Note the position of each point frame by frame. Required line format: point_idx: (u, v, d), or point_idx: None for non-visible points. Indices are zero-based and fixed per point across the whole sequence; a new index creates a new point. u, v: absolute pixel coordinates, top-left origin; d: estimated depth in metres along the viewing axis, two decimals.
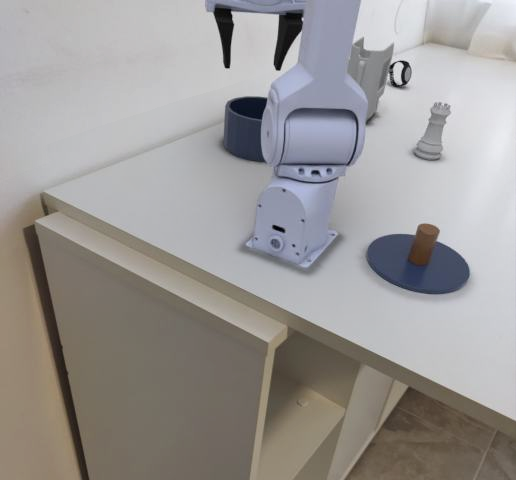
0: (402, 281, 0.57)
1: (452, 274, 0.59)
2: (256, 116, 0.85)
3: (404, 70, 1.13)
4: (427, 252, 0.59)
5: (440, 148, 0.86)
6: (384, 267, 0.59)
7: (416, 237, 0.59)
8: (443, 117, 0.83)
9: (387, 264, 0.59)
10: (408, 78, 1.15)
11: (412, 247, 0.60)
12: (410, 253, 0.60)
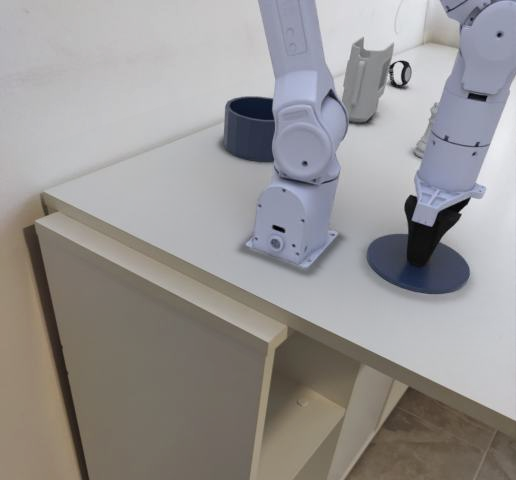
0: (402, 281, 0.57)
1: (452, 274, 0.59)
2: (256, 116, 0.85)
3: (404, 70, 1.13)
4: None
5: None
6: (384, 267, 0.59)
7: None
8: None
9: (387, 264, 0.59)
10: (408, 78, 1.15)
11: None
12: None
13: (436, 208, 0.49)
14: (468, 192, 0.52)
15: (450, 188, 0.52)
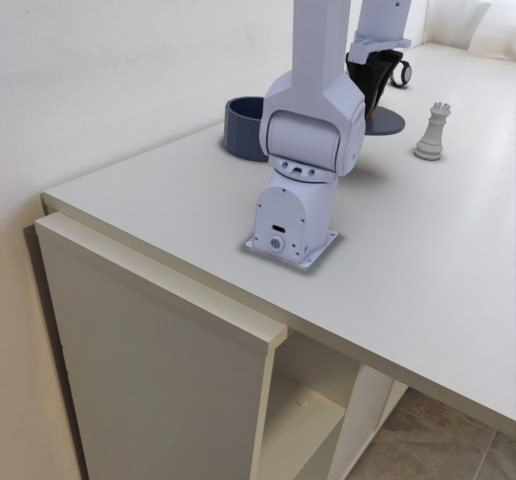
0: None
1: (390, 124, 0.71)
2: (256, 116, 0.85)
3: (404, 70, 1.13)
4: None
5: (440, 148, 0.86)
6: None
7: None
8: (443, 117, 0.83)
9: None
10: (408, 78, 1.15)
11: None
12: None
13: (365, 46, 0.61)
14: (395, 42, 0.64)
15: (380, 37, 0.64)
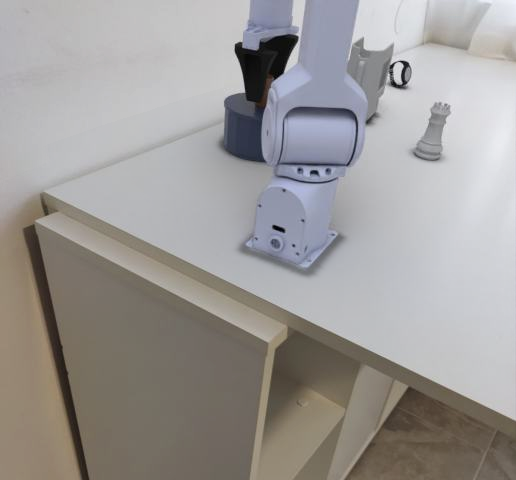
0: (248, 114, 0.76)
1: None
2: None
3: (404, 70, 1.13)
4: (266, 95, 0.78)
5: (440, 148, 0.86)
6: (235, 108, 0.77)
7: None
8: (443, 117, 0.83)
9: (238, 106, 0.78)
10: (408, 78, 1.15)
11: None
12: None
13: (256, 34, 0.67)
14: (284, 29, 0.71)
15: (270, 25, 0.70)
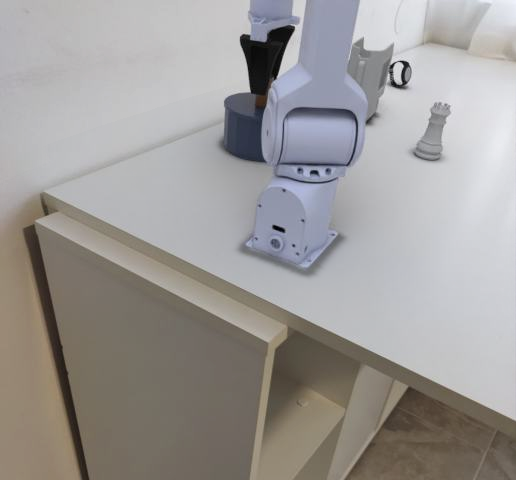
0: (248, 114, 0.76)
1: None
2: None
3: (404, 70, 1.13)
4: (266, 95, 0.78)
5: (440, 148, 0.86)
6: (235, 108, 0.77)
7: None
8: (443, 117, 0.83)
9: (238, 106, 0.78)
10: (408, 78, 1.15)
11: None
12: (255, 98, 0.79)
13: (265, 25, 0.66)
14: (287, 19, 0.70)
15: (274, 16, 0.70)
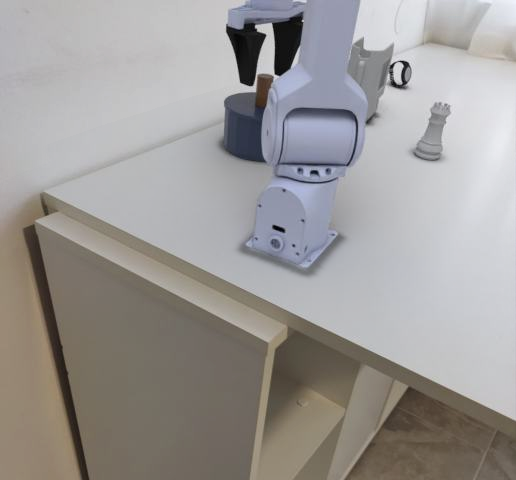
0: (248, 114, 0.76)
1: None
2: None
3: (404, 70, 1.13)
4: (266, 95, 0.78)
5: (440, 148, 0.86)
6: (235, 108, 0.77)
7: (257, 83, 0.77)
8: (443, 117, 0.83)
9: (238, 106, 0.78)
10: (408, 78, 1.15)
11: (256, 93, 0.78)
12: (255, 98, 0.79)
13: (299, 1, 0.76)
14: None
15: None
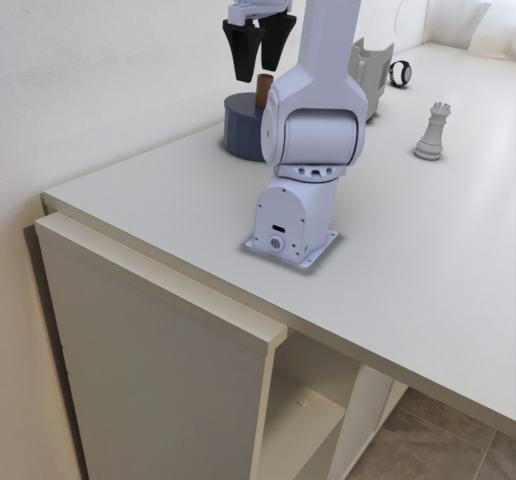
0: (248, 114, 0.76)
1: None
2: None
3: (404, 70, 1.13)
4: (266, 95, 0.78)
5: (440, 148, 0.86)
6: (235, 108, 0.77)
7: (257, 83, 0.77)
8: (443, 117, 0.83)
9: (238, 106, 0.78)
10: (408, 78, 1.15)
11: (256, 93, 0.78)
12: (255, 98, 0.79)
13: None
14: None
15: None
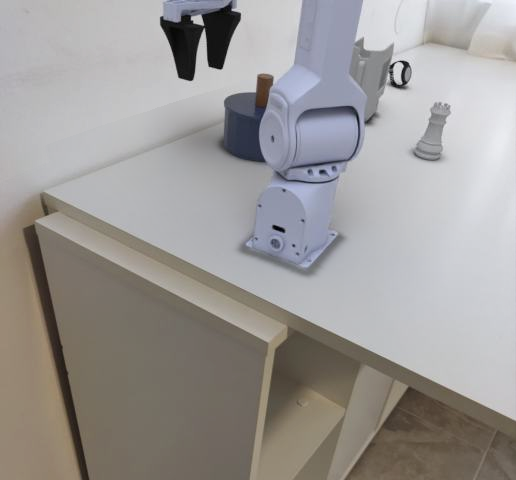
0: (248, 114, 0.76)
1: None
2: None
3: (404, 70, 1.13)
4: (266, 95, 0.78)
5: (440, 148, 0.86)
6: (235, 108, 0.77)
7: (257, 83, 0.77)
8: (443, 117, 0.83)
9: (238, 106, 0.78)
10: (408, 78, 1.15)
11: (256, 93, 0.78)
12: (255, 98, 0.79)
13: None
14: None
15: None
